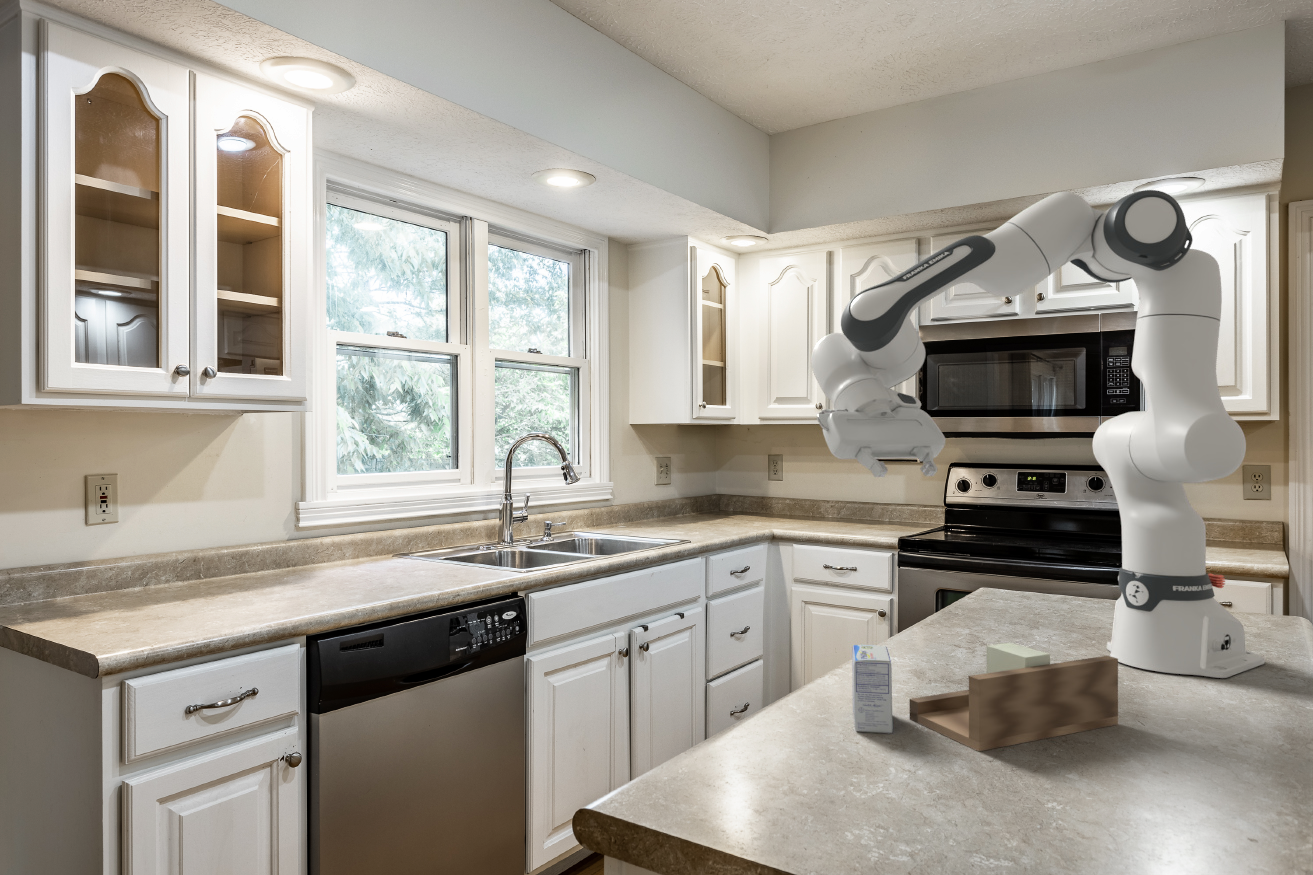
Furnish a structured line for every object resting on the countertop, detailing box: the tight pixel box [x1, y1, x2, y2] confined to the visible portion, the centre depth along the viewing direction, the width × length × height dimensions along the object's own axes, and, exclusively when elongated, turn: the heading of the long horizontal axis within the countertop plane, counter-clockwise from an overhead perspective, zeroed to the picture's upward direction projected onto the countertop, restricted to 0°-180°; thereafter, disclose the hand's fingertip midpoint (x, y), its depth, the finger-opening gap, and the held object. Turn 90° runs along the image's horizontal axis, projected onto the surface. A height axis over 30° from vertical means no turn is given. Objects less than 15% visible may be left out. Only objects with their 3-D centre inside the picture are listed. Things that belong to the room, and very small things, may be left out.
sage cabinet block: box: [986, 642, 1051, 673], centre depth 101 cm, size 4×6×8 cm, turn 23°
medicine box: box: [851, 644, 894, 735], centre depth 102 cm, size 8×4×9 cm, turn 168°
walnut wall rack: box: [909, 655, 1119, 752], centre depth 102 cm, size 22×12×8 cm, turn 113°
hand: (907, 473), depth 126 cm, fingers open, 8 cm apart
